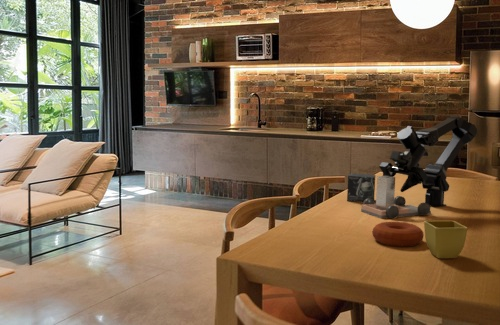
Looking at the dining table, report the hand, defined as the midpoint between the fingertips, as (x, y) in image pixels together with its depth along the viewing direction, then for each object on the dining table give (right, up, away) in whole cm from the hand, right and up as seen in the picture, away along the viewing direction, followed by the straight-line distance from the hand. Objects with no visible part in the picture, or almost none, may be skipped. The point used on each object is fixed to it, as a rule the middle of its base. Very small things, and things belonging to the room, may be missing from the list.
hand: (391, 189), depth 208 cm
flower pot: (+1, -16, -53) cm, 55 cm away
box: (-7, -6, +23) cm, 25 cm away
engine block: (-3, -8, -1) cm, 8 cm away
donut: (-8, -14, -38) cm, 41 cm away
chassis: (+2, -8, +2) cm, 9 cm away
